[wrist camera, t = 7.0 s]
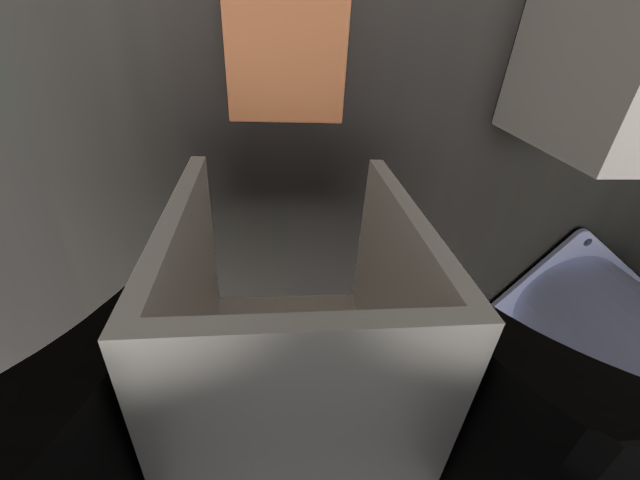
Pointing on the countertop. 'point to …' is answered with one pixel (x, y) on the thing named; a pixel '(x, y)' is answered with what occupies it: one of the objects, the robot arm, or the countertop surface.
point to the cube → (285, 59)
